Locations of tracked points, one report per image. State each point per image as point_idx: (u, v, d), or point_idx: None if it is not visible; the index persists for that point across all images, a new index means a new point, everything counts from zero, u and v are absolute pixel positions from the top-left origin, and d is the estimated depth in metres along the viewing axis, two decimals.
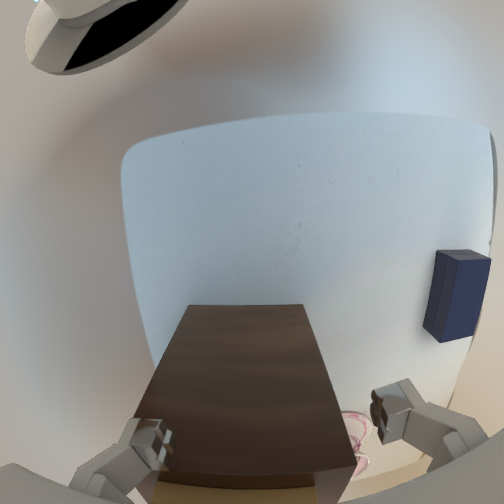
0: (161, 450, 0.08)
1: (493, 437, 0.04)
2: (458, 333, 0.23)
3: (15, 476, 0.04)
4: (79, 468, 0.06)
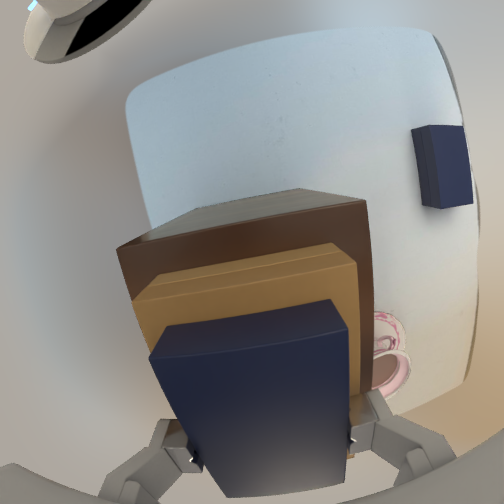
0: (194, 451, 0.08)
1: (493, 437, 0.04)
2: (456, 199, 0.24)
3: (15, 476, 0.04)
4: (108, 476, 0.06)
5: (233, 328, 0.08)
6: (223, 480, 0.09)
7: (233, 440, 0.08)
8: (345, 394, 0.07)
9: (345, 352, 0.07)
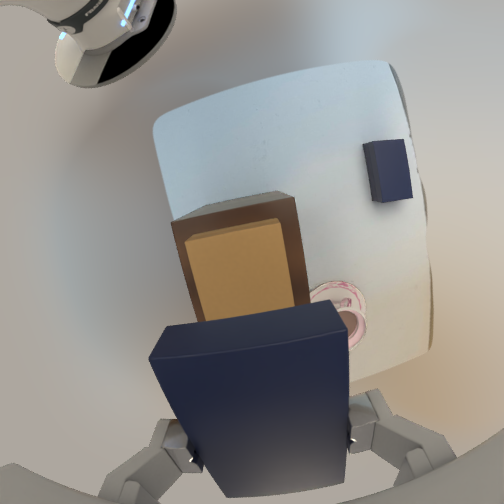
0: (194, 451, 0.08)
1: (493, 437, 0.04)
2: (396, 195, 0.37)
3: (15, 476, 0.04)
4: (108, 475, 0.06)
5: (233, 328, 0.08)
6: (223, 480, 0.09)
7: (233, 440, 0.08)
8: (344, 394, 0.07)
9: (344, 352, 0.07)
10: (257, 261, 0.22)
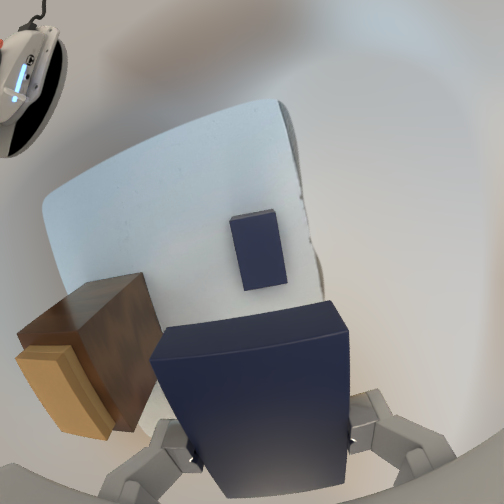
0: (194, 451, 0.08)
1: (493, 437, 0.04)
2: (263, 281, 0.35)
3: (15, 476, 0.04)
4: (108, 475, 0.06)
5: (233, 330, 0.08)
6: (224, 481, 0.09)
7: (233, 441, 0.08)
8: (345, 395, 0.07)
9: (345, 354, 0.07)
10: (54, 382, 0.20)
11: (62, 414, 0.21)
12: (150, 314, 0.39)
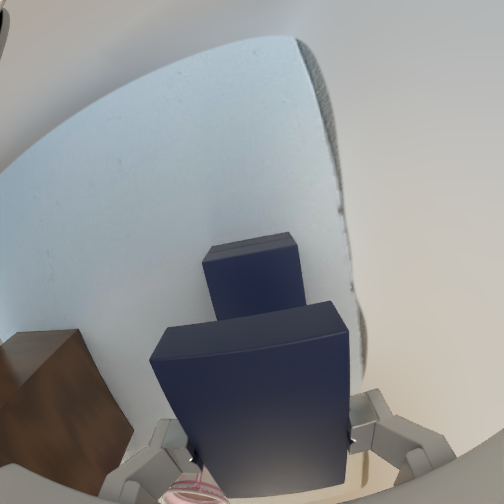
0: (194, 451, 0.08)
1: (493, 437, 0.04)
2: None
3: (15, 476, 0.04)
4: (108, 475, 0.06)
5: (234, 330, 0.08)
6: (224, 481, 0.09)
7: (233, 441, 0.08)
8: (345, 395, 0.07)
9: (345, 354, 0.07)
10: None
11: None
12: (96, 390, 0.22)
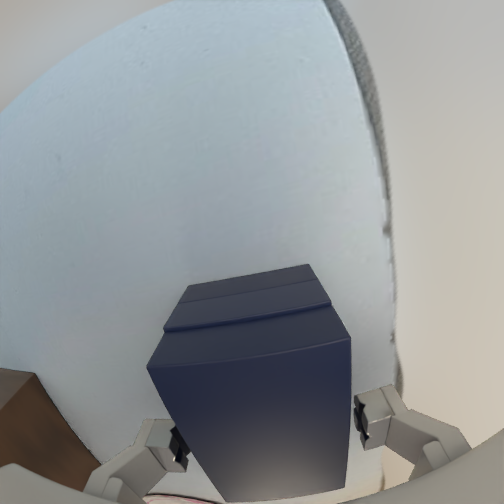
0: (178, 451, 0.08)
1: (493, 437, 0.04)
2: None
3: (15, 476, 0.04)
4: (93, 472, 0.06)
5: (233, 336, 0.08)
6: (223, 486, 0.08)
7: (232, 447, 0.08)
8: (346, 402, 0.07)
9: (347, 361, 0.07)
10: None
11: None
12: (63, 442, 0.14)
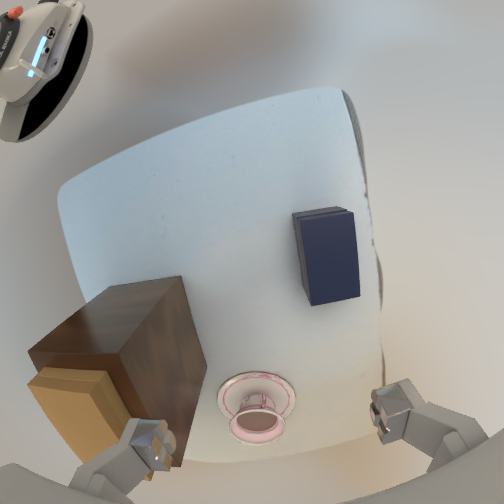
0: (161, 450, 0.08)
1: (493, 437, 0.04)
2: None
3: (15, 476, 0.04)
4: (79, 468, 0.06)
5: (321, 215, 0.28)
6: (312, 287, 0.28)
7: (320, 256, 0.27)
8: (354, 236, 0.27)
9: (353, 219, 0.26)
10: (83, 417, 0.15)
11: (91, 451, 0.16)
12: (189, 325, 0.34)
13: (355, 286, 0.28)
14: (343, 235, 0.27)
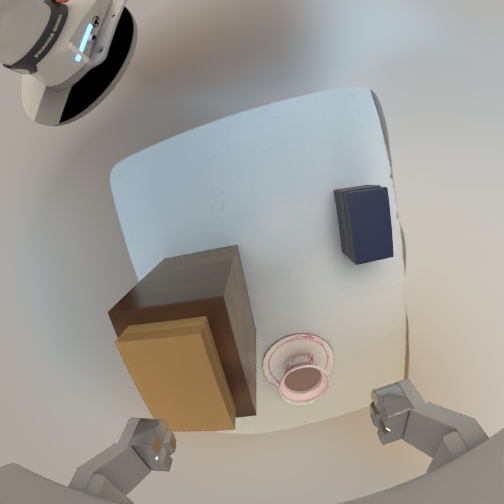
0: (161, 450, 0.08)
1: (493, 437, 0.04)
2: None
3: (15, 476, 0.04)
4: (79, 468, 0.06)
5: (362, 190, 0.33)
6: (357, 248, 0.33)
7: (363, 222, 0.32)
8: (388, 206, 0.32)
9: (387, 193, 0.31)
10: (182, 364, 0.20)
11: (176, 407, 0.22)
12: (245, 289, 0.39)
13: (389, 248, 0.33)
14: (380, 205, 0.32)
